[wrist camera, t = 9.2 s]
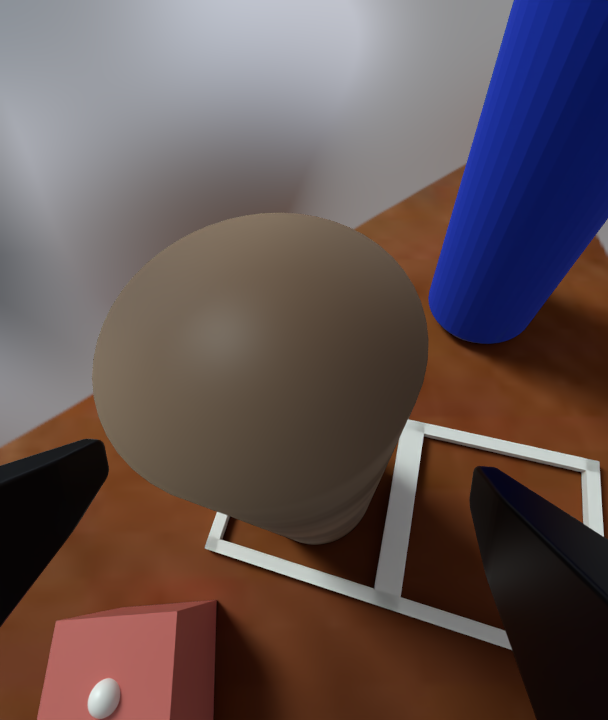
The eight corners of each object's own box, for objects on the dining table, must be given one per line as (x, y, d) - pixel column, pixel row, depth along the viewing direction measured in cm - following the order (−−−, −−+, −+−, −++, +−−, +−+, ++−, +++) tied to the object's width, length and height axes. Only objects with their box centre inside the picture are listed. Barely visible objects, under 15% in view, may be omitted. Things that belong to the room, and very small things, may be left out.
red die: (212, 731, 14) (157, 800, 10) (105, 738, 14) (8, 807, 10) (216, 599, 15) (171, 612, 12) (121, 607, 16) (46, 622, 12)
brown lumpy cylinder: (359, 559, 16) (402, 560, 4) (245, 527, 17) (25, 455, 5) (379, 442, 18) (444, 230, 6) (277, 419, 19) (173, 200, 7)
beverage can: (523, 273, 21) (804, -196, 8) (532, 354, 19) (946, -118, 6) (427, 268, 22) (540, -162, 9) (425, 345, 20) (571, -83, 7)
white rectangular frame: (606, 680, 13) (613, 683, 13) (207, 548, 16) (204, 548, 16) (594, 463, 16) (599, 461, 16) (262, 390, 20) (261, 387, 19)
